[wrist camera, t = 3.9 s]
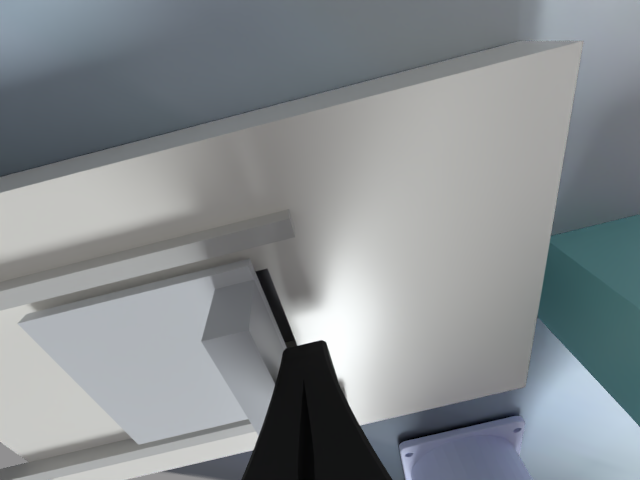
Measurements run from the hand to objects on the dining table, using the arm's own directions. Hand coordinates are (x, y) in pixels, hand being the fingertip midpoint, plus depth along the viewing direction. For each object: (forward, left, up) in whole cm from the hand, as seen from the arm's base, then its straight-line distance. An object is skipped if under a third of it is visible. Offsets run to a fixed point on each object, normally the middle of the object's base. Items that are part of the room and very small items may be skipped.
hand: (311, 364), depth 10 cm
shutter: (0, +4, -1) cm, 5 cm away
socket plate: (0, +2, -4) cm, 5 cm away
